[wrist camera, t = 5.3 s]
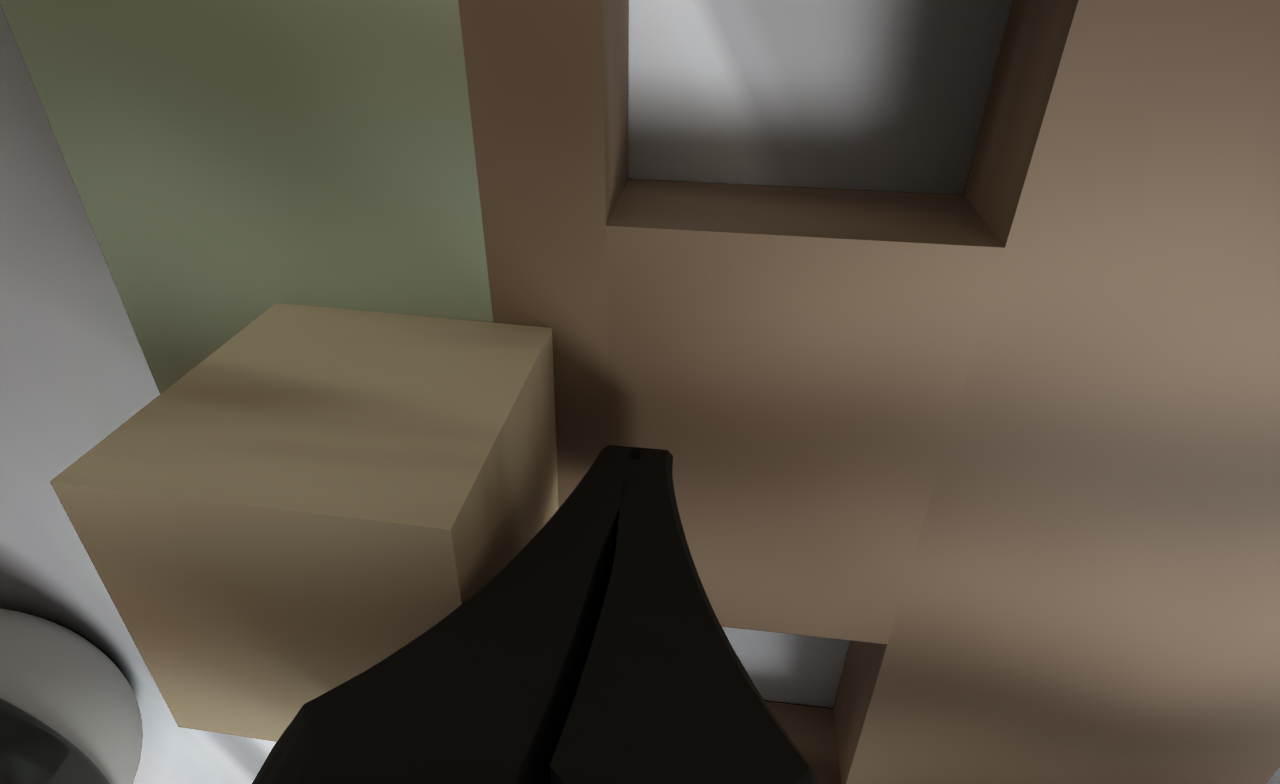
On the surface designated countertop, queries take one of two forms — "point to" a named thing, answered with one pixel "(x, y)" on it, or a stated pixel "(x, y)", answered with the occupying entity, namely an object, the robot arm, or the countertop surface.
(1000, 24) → the countertop surface
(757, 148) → the countertop surface
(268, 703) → the maple cube
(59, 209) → the countertop surface
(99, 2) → the trap board
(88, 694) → the pump dispenser
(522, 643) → the robot arm
